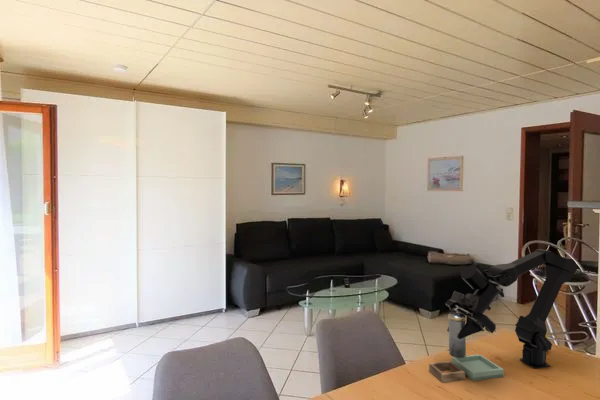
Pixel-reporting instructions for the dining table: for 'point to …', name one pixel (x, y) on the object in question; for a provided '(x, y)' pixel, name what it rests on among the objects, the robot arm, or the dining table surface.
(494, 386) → the dining table surface
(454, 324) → the grey cylindrical piece
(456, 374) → the holder
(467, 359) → the tray
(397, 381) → the dining table surface
